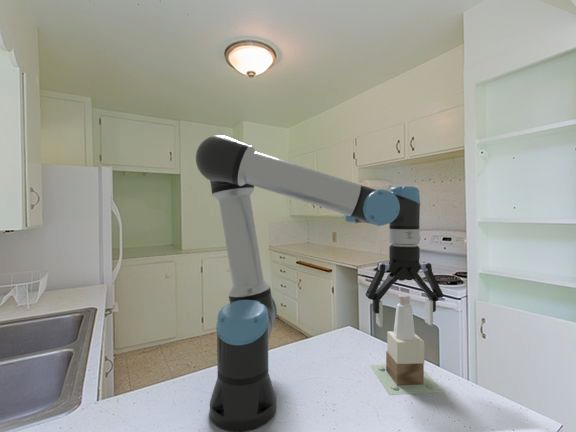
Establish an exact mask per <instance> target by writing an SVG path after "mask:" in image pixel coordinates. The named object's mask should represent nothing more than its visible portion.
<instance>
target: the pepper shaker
mask: <svg viewBox="0 0 576 432" xmlns="http://www.w3.org/2000/svg"><path fill="white" fill-rule="evenodd" d="M410 300H411V297H410V295H408V294H406V293H405V294H404V293H401V294H399V295H398V303H397V304H396V308H395V317H394V326H393V331H394V336H395V337H396V338H398V339H401V340H413V339H414V338H415V334H416V333H415V323H414V322H415V321H414V314H413V313H414V312H413V307H412V305H411V304H410Z"/></svg>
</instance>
